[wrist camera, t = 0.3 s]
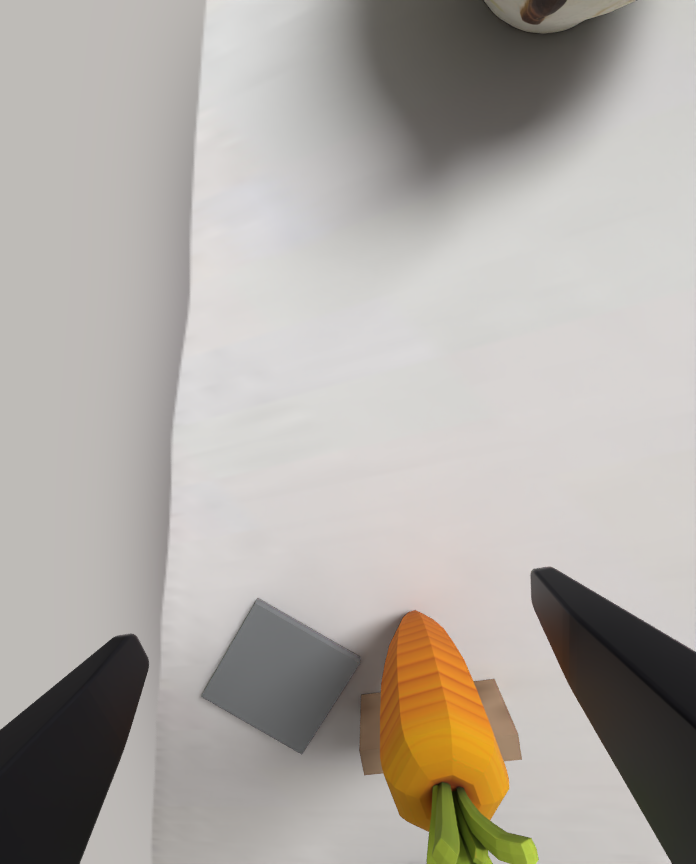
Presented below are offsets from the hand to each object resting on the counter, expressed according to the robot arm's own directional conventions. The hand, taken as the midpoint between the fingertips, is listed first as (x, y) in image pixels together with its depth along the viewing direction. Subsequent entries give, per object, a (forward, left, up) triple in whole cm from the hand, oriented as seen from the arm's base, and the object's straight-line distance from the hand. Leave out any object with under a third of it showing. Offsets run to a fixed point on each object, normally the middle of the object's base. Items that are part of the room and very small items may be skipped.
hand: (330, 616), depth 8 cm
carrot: (-7, -8, -16) cm, 19 cm away
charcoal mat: (-15, -3, -16) cm, 22 cm away
